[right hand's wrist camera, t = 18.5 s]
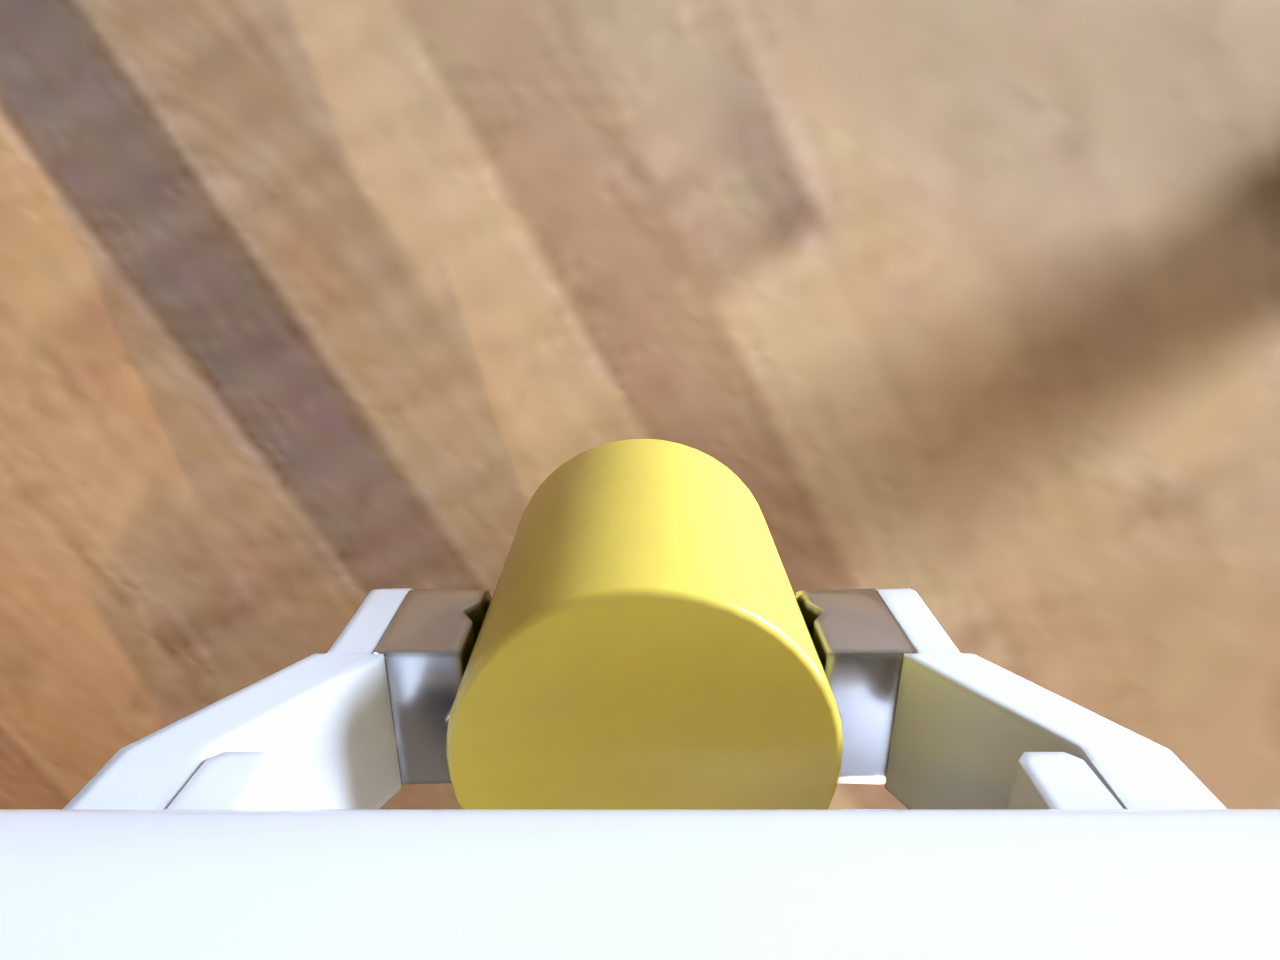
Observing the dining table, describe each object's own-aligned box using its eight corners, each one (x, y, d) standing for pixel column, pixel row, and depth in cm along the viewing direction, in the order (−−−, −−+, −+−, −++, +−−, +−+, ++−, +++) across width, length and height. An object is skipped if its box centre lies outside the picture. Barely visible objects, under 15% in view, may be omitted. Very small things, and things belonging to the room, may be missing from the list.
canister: (622, 383, 11) (611, 505, 7) (821, 540, 12) (930, 742, 8) (466, 574, 12) (367, 789, 8) (660, 705, 13) (670, 966, 9)
